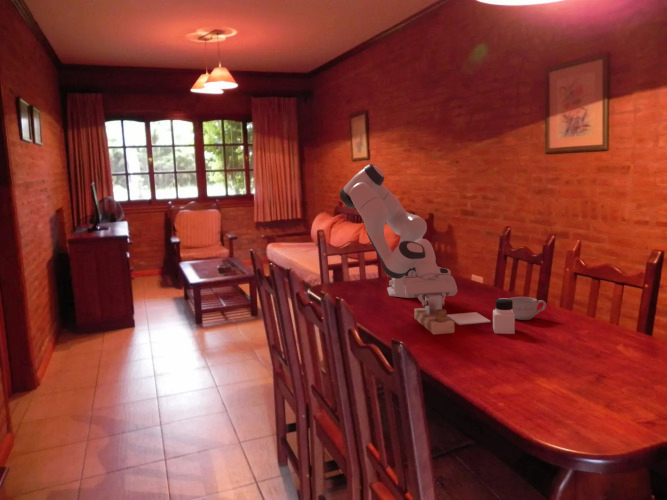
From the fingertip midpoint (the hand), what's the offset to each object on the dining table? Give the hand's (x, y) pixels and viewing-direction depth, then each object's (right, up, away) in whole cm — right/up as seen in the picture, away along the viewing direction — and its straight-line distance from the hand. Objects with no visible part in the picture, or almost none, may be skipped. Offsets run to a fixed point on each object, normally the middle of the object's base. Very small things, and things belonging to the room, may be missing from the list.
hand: (433, 305), depth 205 cm
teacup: (+38, -6, +6) cm, 39 cm away
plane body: (0, -8, +2) cm, 8 cm away
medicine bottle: (+24, -9, -8) cm, 27 cm away
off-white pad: (+15, -6, +8) cm, 19 cm away
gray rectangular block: (0, -4, +1) cm, 4 cm away
